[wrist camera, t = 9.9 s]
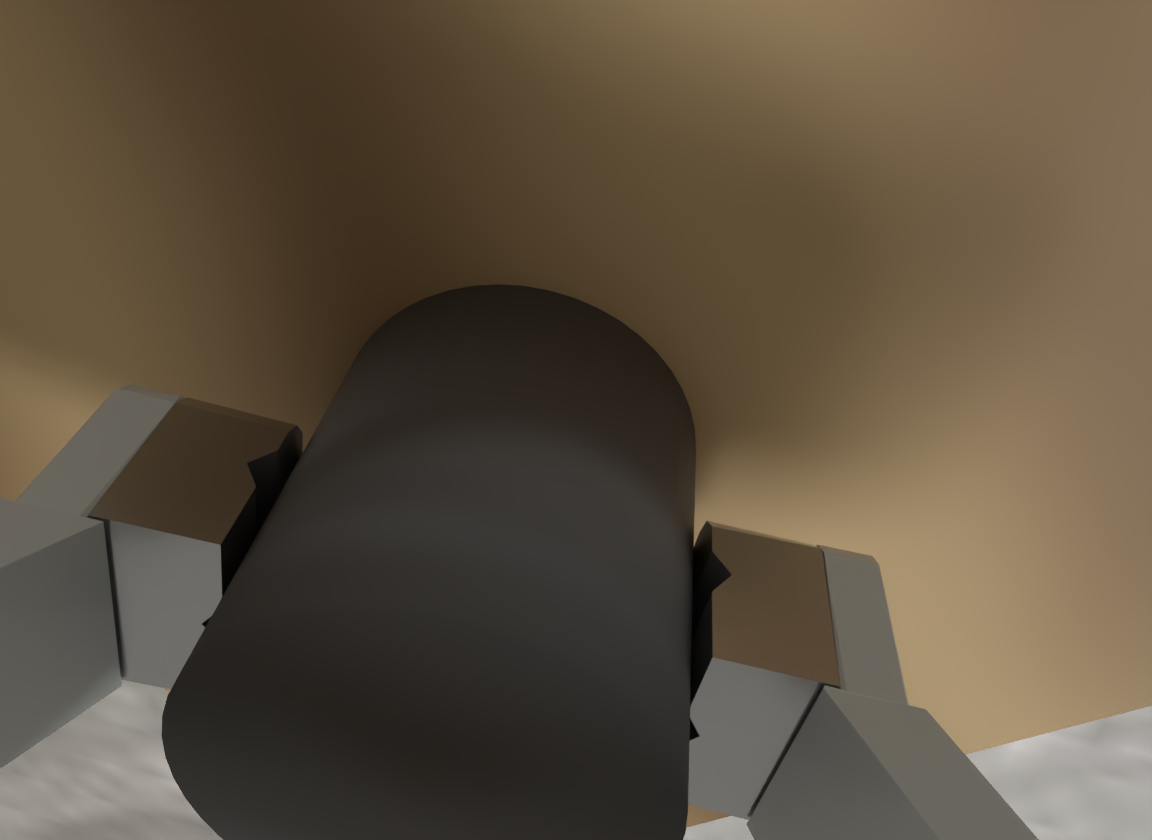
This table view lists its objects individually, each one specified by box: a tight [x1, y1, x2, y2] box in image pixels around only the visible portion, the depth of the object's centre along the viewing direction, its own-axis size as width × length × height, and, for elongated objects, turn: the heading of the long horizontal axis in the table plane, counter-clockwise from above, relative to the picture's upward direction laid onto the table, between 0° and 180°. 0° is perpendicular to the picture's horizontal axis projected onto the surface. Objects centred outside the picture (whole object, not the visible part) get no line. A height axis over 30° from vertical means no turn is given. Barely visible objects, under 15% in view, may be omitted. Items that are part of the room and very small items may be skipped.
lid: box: [0, 0, 1152, 840], centre depth 9 cm, size 13×13×5 cm
